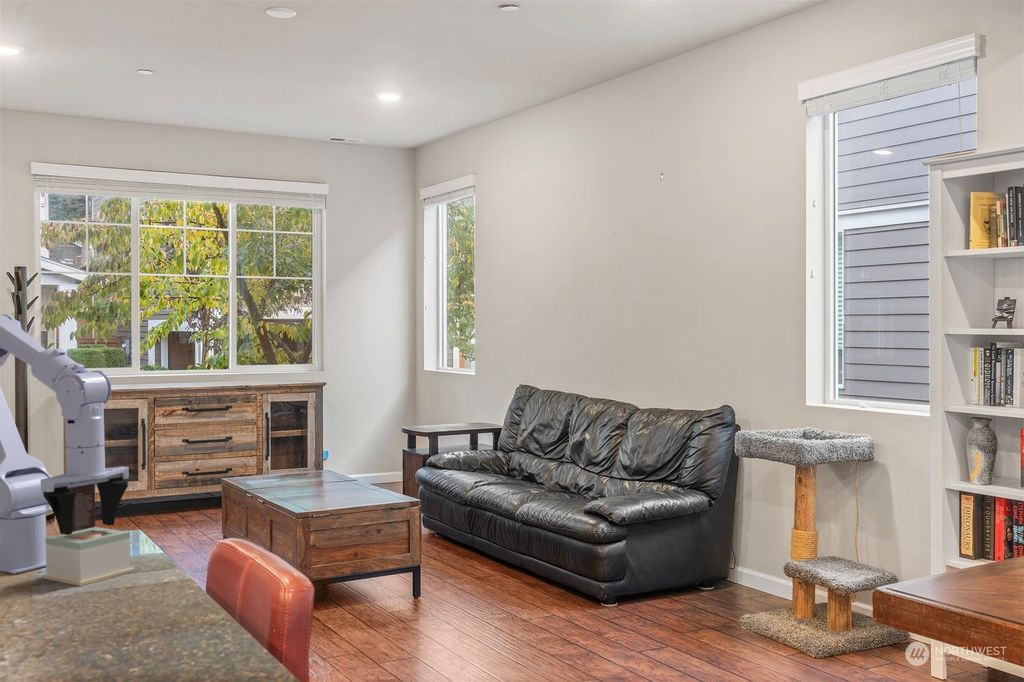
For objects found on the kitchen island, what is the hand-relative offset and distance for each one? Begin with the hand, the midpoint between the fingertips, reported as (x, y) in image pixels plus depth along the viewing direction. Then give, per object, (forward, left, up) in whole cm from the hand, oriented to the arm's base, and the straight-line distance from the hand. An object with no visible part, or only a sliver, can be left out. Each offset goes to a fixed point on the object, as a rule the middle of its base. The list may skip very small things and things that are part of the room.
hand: (87, 529), depth 153 cm
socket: (0, 0, -7) cm, 7 cm away
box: (-23, +14, -8) cm, 28 cm away
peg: (0, 0, -7) cm, 7 cm away
